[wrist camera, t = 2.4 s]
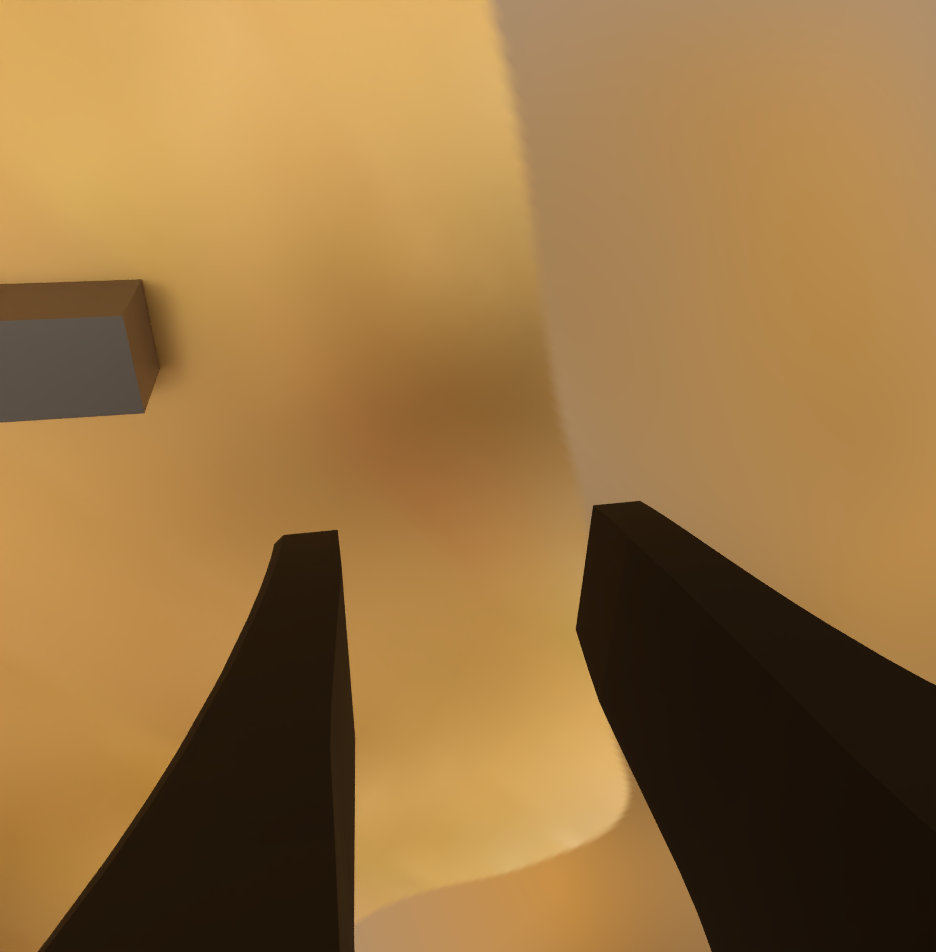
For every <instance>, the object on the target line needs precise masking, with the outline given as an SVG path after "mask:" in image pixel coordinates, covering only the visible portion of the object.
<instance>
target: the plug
mask: <svg viewBox="0 0 936 952" xmlns="http://www.w3.org/2000/svg"><path fill="white" fill-rule="evenodd" d="M159 369H160V367H159V362H158V358H157V353H156V348H155V343H154V338H153V333H152V329H151V324H150V319H149V314H148V309H147V304H146V299H145V295H144V290H143V285H142V280H114V281H84V282H55V283H25V284H0V422H15V421H31V420H46V419H62V418H77V417H93V416H108V415H124V414H139V413H145V410H146V407H147V404H148V401H149V398H150V396H151V393H152V390H153V387H154V384H155V381H156V378H157V375H158V372H159Z"/></svg>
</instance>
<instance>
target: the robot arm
mask: <svg viewBox="0 0 936 952" xmlns="http://www.w3.org/2000/svg"><path fill="white" fill-rule="evenodd" d="M576 632H577V635H578V638H579V641H580V645H581V648H582V651H583V654H584V657H585V661H586V664H587V667H588V670H589V673H590V676H591V679H592V682H593V685H594V688H595V691H596V693H597V696H598V699H599V702H600V704H601V707H602V709H603V711H604V713H605V715H606V717H607V720H608V722H609V724H610V726H611V728H612V730H613V732H614V735H615V737H616V739H617V741H618V743H619V745H620V747H621V750H622V752H623V754H624V756H625V758H626V760H627V762H628V764H629V766H630V769H631V771H632V773H633V775H634V777H635V779H636V781H637V783H638V785H639V787H640V789H641V791H642V794H643V796H644V798H645V800H646V802H647V804H648V806H649V808H650V810H651V812H652V814H653V816H654V819H655V820H656V823H657V824H658V827H659V829H660V831H661V833H662V835H663V837H664V839H665V842H666V844H667V846H668V848H669V850H670V852H671V854H672V856H673V858H674V860H675V862H676V865H677V866H678V869H679V871H680V873H681V875H682V878H683V880H684V883H685V885H686V887H687V889H688V892H689V894H690V896H691V899H692V901H693V903H694V905H695V908H696V910H697V913H698V916H699V918H700V921H701V924H702V926H703V929H704V932H705V934H706V937H707V940H708V943H709V945H710V948H711V951H712V952H936V685H934V684H932V683H930V682H928V681H926V680H924V679H923V678H921V677H919V676H917V675H915V674H913V673H912V672H910V671H908V670H906V669H904V668H902V667H901V666H899V665H897V664H895V663H893V662H892V661H890V660H888V659H886V658H884V657H883V656H881V655H879V654H878V653H876V652H874V651H873V650H871V649H869V648H868V647H866V646H864V645H863V644H861V643H859V642H857V641H856V640H854V639H852V638H851V637H849V636H847V635H846V634H844V633H842V632H841V631H839V630H837V629H836V628H834V627H832V626H830V625H829V624H827V623H825V622H824V621H822V620H821V619H819V618H817V617H816V616H814V615H813V614H811V613H809V612H808V611H806V610H805V609H803V608H801V607H800V606H798V605H797V604H795V603H793V602H792V601H791V600H789V599H787V598H786V597H784V596H783V595H781V594H780V593H778V592H777V591H775V590H774V589H772V588H771V587H769V586H768V585H766V584H764V583H763V582H761V581H760V580H758V579H757V578H755V577H754V576H752V575H751V574H749V573H748V572H746V571H745V570H743V569H742V568H740V567H739V566H737V565H736V564H735V563H733V562H732V561H730V560H729V559H727V558H726V557H724V556H723V555H721V554H720V553H718V552H717V551H715V550H714V549H712V548H711V547H709V546H708V545H707V544H705V543H703V542H702V541H701V540H699V539H698V538H696V537H695V536H693V535H692V534H690V533H689V532H688V531H686V530H685V529H683V528H681V527H680V526H679V525H677V524H676V523H674V522H673V521H671V520H670V519H668V518H667V517H665V516H664V515H662V514H661V513H659V512H657V511H656V510H654V509H653V508H651V507H649V506H648V505H646V504H644V503H643V502H641V501H635V502H625V503H614V504H603V505H594V506H593V511H592V518H591V525H590V532H589V539H588V546H587V553H586V560H585V568H584V575H583V582H582V589H581V596H580V603H579V610H578V618H577V625H576ZM354 840H355V730H354V718H353V705H352V693H351V680H350V667H349V655H348V642H347V630H346V617H345V604H344V592H343V579H342V567H341V557H340V548H339V538H338V530H332V531H321V532H311V533H301V534H290V535H283V536H282V537H281V538H280V539H279V540H278V541H277V542H276V543H275V544H274V548H273V552H272V556H271V559H270V562H269V566H268V569H267V572H266V575H265V577H264V580H263V583H262V585H261V588H260V590H259V593H258V595H257V598H256V600H255V602H254V605H253V607H252V610H251V612H250V614H249V617H248V619H247V621H246V623H245V625H244V627H243V629H242V632H241V634H240V636H239V638H238V640H237V642H236V644H235V646H234V648H233V650H232V652H231V654H230V656H229V658H228V660H227V663H226V665H225V667H224V669H223V671H222V673H221V675H220V677H219V678H218V680H217V682H216V684H215V686H214V688H213V690H212V691H211V693H210V695H209V697H208V698H207V700H206V702H205V704H204V705H203V707H202V709H201V711H200V712H199V714H198V716H197V718H196V720H195V721H194V723H193V725H192V727H191V728H190V730H189V732H188V734H187V735H186V737H185V739H184V741H183V742H182V744H181V746H180V748H179V749H178V751H177V753H176V754H175V756H174V758H173V759H172V761H171V762H170V764H169V766H168V767H167V769H166V771H165V772H164V774H163V775H162V777H161V779H160V780H159V782H158V783H157V785H156V786H155V788H154V790H153V791H152V793H151V794H150V796H149V797H148V799H147V800H146V802H145V803H144V805H143V806H142V808H141V809H140V811H139V812H138V814H137V815H136V817H135V818H134V820H133V821H132V823H131V824H130V826H129V827H128V829H127V830H126V832H125V833H124V835H123V836H122V837H121V839H120V840H119V842H118V843H117V845H116V846H115V848H114V849H113V851H112V852H111V853H110V855H109V856H108V858H107V859H106V861H105V862H104V863H103V865H102V866H101V867H100V869H99V870H98V871H97V873H96V874H95V876H94V877H93V878H92V880H91V881H90V882H89V884H88V885H87V886H86V888H85V889H84V890H83V892H82V893H81V895H80V896H79V897H78V899H77V900H76V901H75V903H74V904H73V905H72V907H71V908H70V909H69V911H68V912H67V914H66V915H65V916H64V918H63V919H62V920H61V922H60V923H59V924H58V926H57V927H56V929H55V930H54V931H53V933H52V934H51V935H50V937H49V938H48V939H47V941H46V942H45V943H44V944H43V946H42V947H41V948H40V950H39V951H38V952H354Z"/></svg>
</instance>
